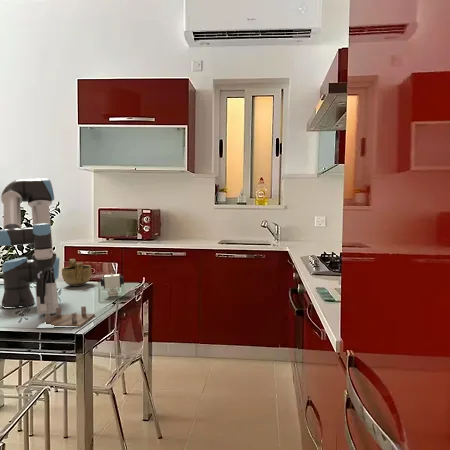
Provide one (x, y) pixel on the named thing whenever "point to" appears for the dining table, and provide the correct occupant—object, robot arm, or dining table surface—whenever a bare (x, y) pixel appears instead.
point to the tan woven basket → (76, 273)
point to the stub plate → (68, 318)
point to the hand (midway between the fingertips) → (47, 308)
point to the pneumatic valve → (112, 283)
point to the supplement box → (49, 299)
